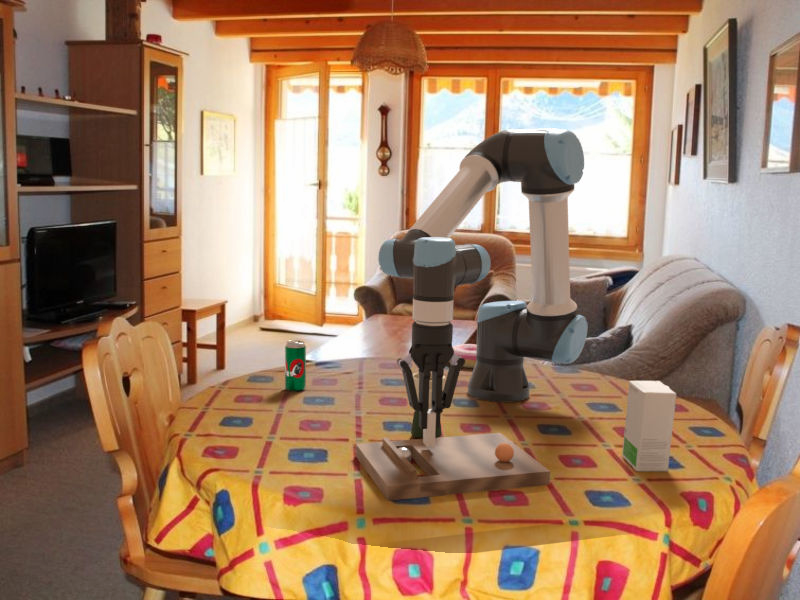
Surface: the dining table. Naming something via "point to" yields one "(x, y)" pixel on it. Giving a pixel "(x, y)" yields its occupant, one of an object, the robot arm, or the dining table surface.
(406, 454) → the steel ball
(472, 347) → the donut
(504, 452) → the rust ball
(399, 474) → the walnut board
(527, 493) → the dining table surface
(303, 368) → the soda can
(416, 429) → the character mug
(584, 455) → the dining table surface
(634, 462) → the skincare box
